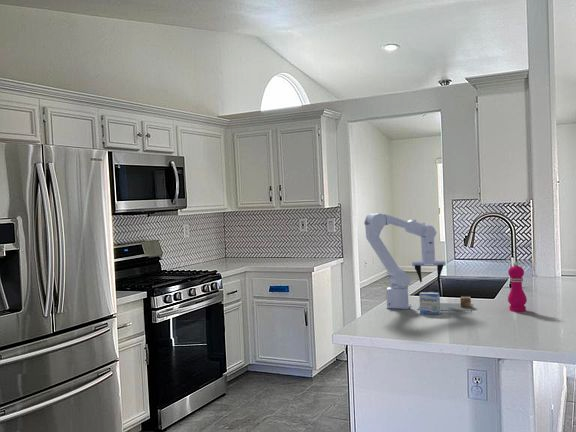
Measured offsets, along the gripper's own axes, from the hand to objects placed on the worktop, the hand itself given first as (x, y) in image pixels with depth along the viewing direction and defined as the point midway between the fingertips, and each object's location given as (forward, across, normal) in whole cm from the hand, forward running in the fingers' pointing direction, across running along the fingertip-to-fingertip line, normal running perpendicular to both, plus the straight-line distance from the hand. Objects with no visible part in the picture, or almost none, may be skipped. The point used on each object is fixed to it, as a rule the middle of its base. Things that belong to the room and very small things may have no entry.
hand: (429, 281), depth 239 cm
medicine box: (+11, +1, -18) cm, 21 cm away
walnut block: (+10, +15, -5) cm, 19 cm away
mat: (+10, +6, -6) cm, 13 cm away
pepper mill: (+11, +35, -9) cm, 38 cm away
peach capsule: (+10, 0, 0) cm, 10 cm away
